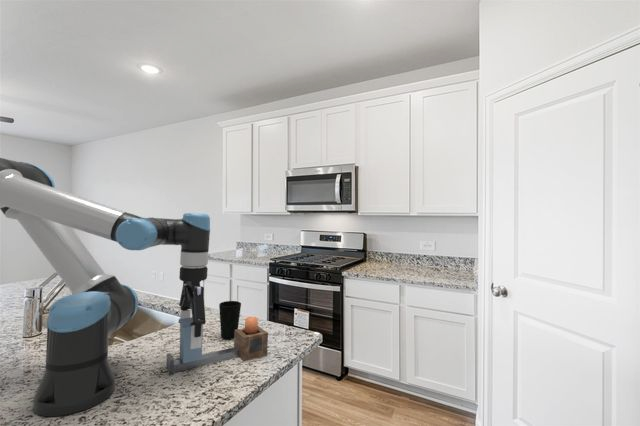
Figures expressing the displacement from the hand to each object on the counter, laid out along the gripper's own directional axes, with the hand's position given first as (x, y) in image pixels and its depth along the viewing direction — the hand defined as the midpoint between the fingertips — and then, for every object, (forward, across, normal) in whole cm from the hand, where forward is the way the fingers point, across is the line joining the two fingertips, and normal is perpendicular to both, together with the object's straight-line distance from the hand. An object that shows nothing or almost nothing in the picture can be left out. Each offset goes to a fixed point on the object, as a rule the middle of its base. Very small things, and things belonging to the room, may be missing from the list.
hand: (189, 339), depth 91 cm
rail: (+8, 0, -6) cm, 9 cm away
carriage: (+5, 0, 0) cm, 5 cm away
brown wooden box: (+7, -1, -19) cm, 20 cm away
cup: (+8, +16, -18) cm, 25 cm away
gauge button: (0, -1, -18) cm, 18 cm away
